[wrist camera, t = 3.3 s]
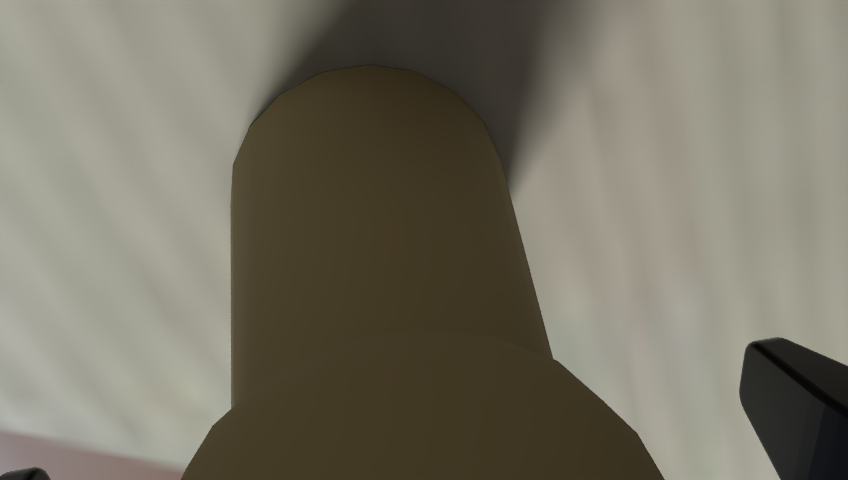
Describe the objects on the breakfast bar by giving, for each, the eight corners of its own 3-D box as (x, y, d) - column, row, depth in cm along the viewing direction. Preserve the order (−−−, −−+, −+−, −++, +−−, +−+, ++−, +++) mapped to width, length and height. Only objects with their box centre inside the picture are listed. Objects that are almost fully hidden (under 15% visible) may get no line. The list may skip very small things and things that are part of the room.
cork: (204, 284, 15) (-18, 982, 5) (266, 23, 13) (64, 449, 3) (449, 337, 17) (614, 951, 7) (547, 115, 14) (1005, 586, 5)
